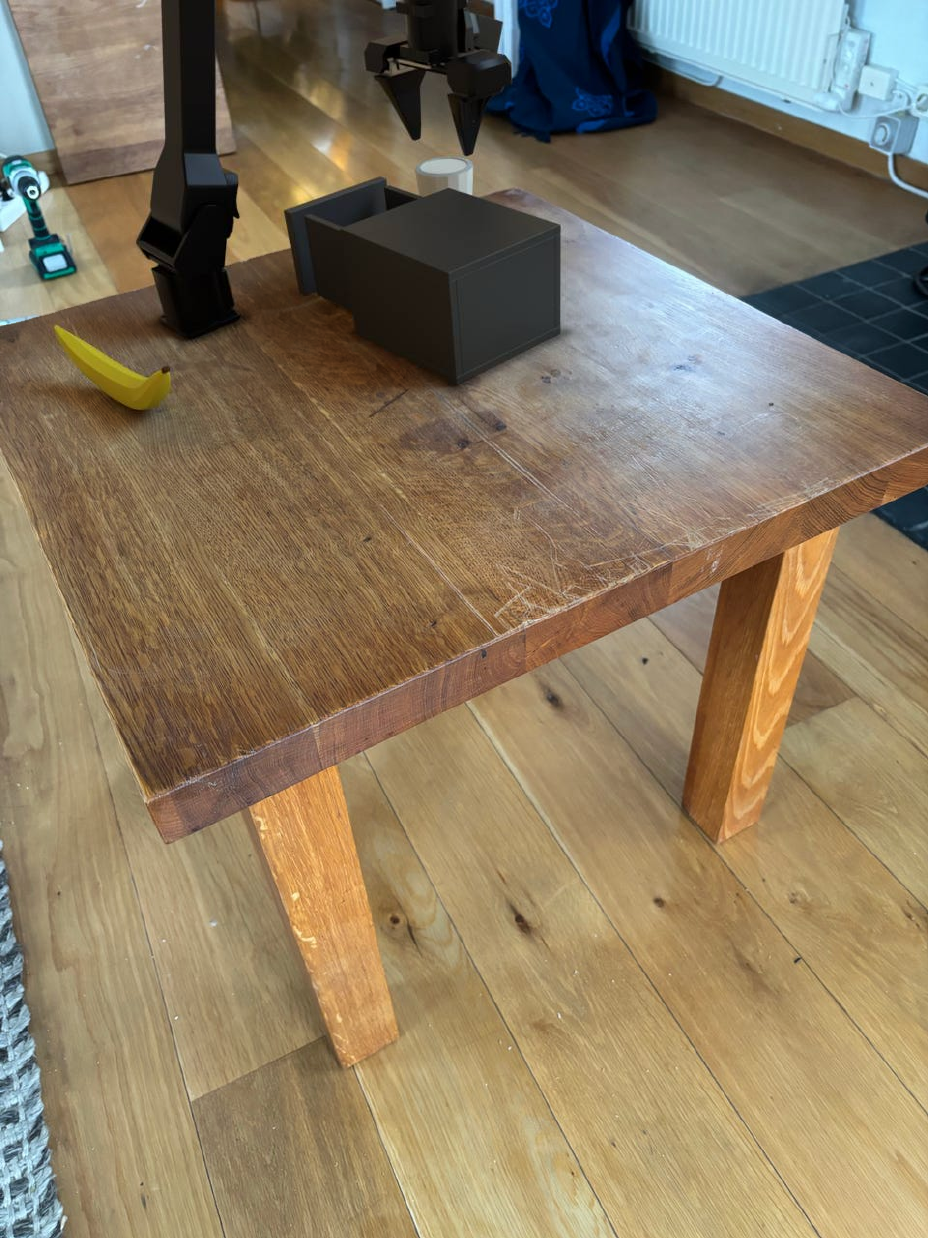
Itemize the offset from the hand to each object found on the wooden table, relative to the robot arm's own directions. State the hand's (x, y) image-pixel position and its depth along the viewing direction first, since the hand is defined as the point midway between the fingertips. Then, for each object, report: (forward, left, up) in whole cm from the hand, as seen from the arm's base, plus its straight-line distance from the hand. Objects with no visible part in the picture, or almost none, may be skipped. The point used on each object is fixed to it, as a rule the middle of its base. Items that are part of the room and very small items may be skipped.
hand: (441, 147), depth 111 cm
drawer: (-18, -9, -8) cm, 22 cm away
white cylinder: (0, 0, -9) cm, 9 cm away
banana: (-47, -8, -9) cm, 49 cm away
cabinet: (-18, -22, -9) cm, 30 cm away
